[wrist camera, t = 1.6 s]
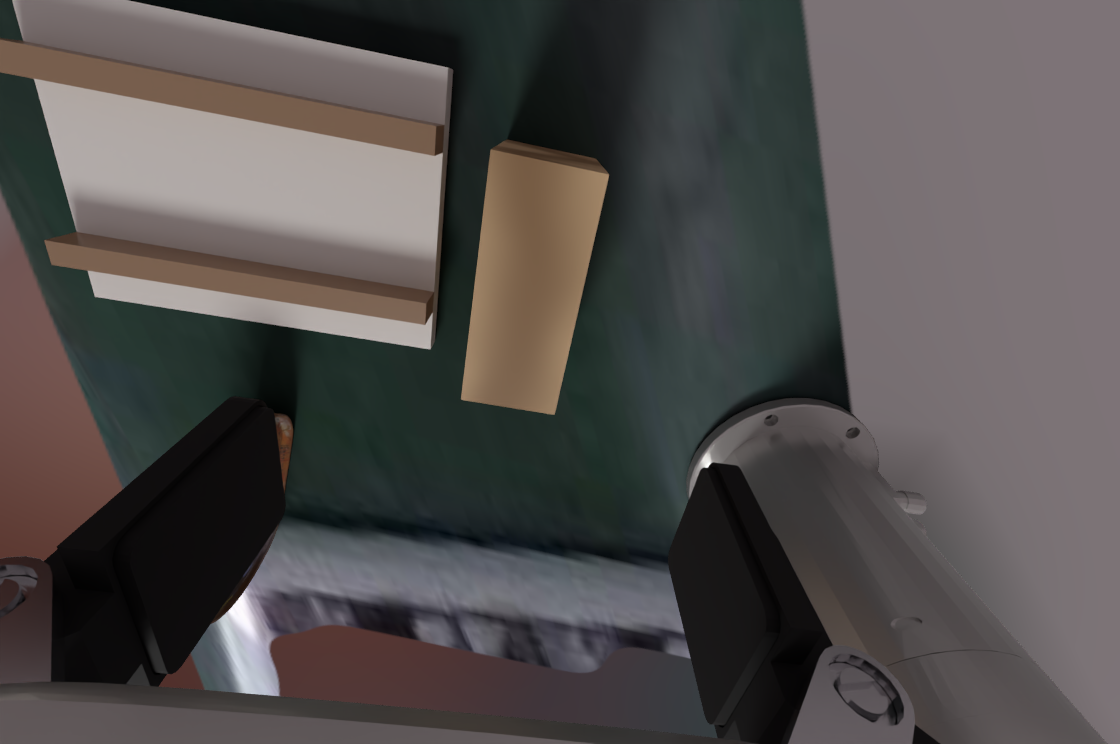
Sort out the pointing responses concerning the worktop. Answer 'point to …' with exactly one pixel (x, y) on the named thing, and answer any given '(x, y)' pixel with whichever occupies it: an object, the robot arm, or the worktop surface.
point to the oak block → (530, 273)
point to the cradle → (242, 167)
